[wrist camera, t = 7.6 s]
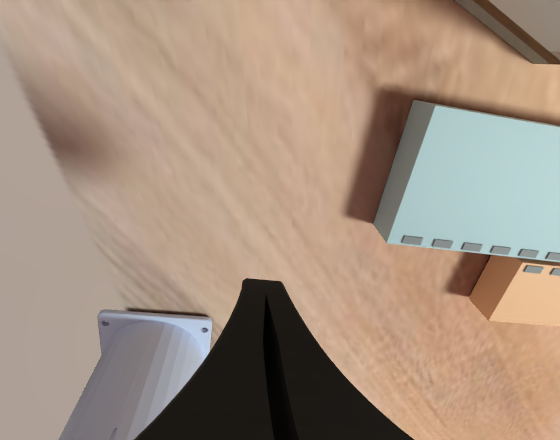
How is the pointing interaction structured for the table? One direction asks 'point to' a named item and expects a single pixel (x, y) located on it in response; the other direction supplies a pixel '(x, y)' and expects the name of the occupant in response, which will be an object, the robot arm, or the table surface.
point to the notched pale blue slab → (474, 184)
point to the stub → (519, 291)
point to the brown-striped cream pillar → (522, 25)
